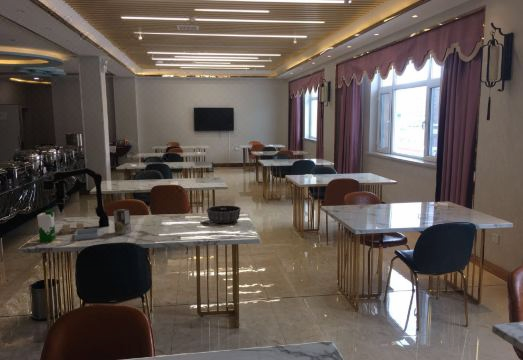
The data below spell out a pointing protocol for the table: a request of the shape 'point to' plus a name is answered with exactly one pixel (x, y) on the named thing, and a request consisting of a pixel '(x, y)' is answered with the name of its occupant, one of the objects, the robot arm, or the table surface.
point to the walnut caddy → (73, 231)
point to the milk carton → (46, 226)
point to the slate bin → (85, 235)
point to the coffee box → (122, 221)
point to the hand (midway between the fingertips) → (62, 210)
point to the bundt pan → (223, 214)
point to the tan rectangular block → (66, 227)
